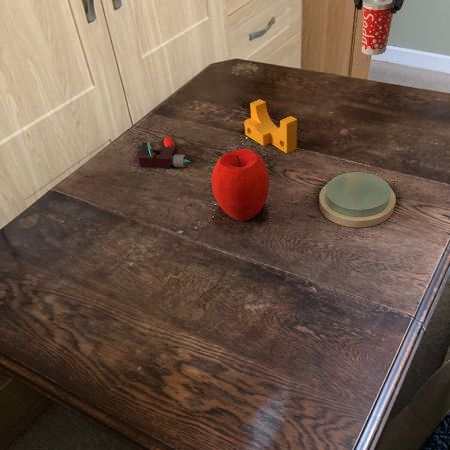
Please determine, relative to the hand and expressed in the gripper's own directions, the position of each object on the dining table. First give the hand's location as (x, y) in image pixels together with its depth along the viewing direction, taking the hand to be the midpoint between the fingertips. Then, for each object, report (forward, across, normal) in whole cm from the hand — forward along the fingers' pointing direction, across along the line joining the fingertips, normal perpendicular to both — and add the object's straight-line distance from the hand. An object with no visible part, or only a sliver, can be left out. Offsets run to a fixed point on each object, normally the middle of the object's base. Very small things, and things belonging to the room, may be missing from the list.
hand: (374, 9), depth 90 cm
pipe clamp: (+27, +13, -4) cm, 30 cm away
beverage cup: (+5, 0, -7) cm, 8 cm away
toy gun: (+37, +29, +6) cm, 48 cm away
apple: (+43, +4, +12) cm, 45 cm away
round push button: (+35, -12, +4) cm, 37 cm away
